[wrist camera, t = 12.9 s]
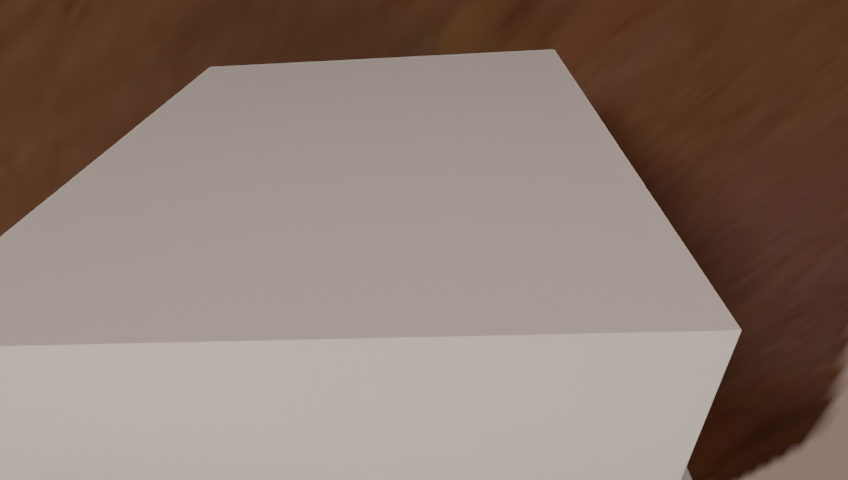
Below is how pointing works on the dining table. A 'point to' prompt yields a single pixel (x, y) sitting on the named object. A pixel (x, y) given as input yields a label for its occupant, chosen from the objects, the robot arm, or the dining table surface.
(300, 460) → the off-white rectangular block
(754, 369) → the dining table surface
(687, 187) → the dining table surface
